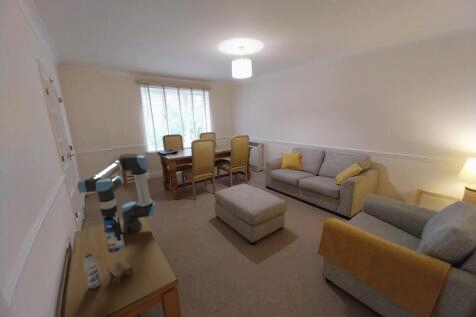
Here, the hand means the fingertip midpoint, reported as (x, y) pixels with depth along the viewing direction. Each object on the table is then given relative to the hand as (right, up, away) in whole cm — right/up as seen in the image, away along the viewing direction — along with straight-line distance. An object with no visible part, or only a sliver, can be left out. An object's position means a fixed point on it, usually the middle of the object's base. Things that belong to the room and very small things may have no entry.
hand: (115, 242), depth 114 cm
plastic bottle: (-11, -25, -1) cm, 27 cm away
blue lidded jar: (0, -4, +1) cm, 4 cm away
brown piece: (+1, -23, +5) cm, 24 cm away
